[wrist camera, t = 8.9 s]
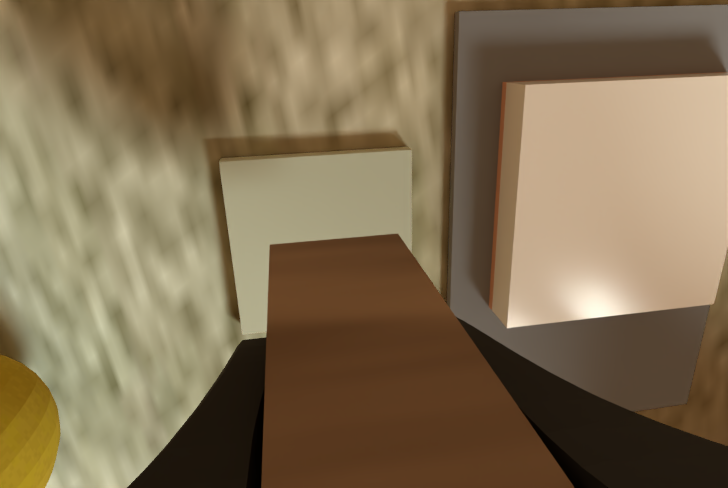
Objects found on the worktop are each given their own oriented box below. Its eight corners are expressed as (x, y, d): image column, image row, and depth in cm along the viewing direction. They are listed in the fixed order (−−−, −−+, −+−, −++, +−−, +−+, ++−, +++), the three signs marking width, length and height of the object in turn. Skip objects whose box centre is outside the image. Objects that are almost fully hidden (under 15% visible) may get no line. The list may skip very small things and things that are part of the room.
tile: (714, 303, 18) (769, 73, 16) (506, 328, 17) (525, 84, 15) (681, 285, 20) (726, 71, 17) (488, 306, 19) (502, 82, 16)
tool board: (407, 308, 19) (411, 316, 18) (243, 326, 18) (242, 334, 17) (407, 146, 17) (412, 149, 16) (220, 158, 16) (218, 161, 15)
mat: (680, 398, 23) (686, 403, 22) (443, 432, 21) (446, 439, 21) (770, 4, 17) (781, 3, 17) (454, 12, 15) (459, 11, 15)
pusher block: (399, 343, 13) (562, 720, 6) (281, 357, 13) (289, 783, 5) (397, 233, 12) (595, 519, 5) (269, 244, 12) (259, 577, 4)
